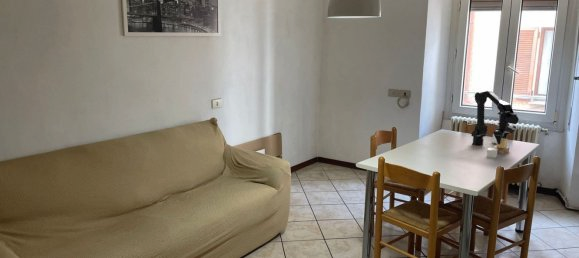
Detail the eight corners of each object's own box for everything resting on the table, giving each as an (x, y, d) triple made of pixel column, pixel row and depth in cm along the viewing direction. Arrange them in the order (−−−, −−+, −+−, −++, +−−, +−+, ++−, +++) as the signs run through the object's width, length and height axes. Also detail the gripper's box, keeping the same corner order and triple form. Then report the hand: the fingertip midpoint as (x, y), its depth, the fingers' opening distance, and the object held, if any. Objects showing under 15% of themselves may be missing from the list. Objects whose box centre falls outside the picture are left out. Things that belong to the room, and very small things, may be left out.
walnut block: (491, 152, 324) (492, 147, 324) (495, 150, 331) (496, 145, 330) (505, 154, 319) (506, 149, 318) (508, 152, 326) (509, 146, 325)
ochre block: (496, 147, 324) (497, 138, 323) (499, 145, 328) (500, 137, 326) (503, 148, 321) (504, 140, 319) (506, 147, 324) (507, 138, 323)
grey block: (486, 156, 313) (487, 149, 312) (487, 154, 318) (488, 147, 317) (496, 157, 310) (496, 150, 309) (496, 155, 315) (497, 148, 314)
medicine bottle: (499, 144, 347) (500, 129, 344) (491, 142, 353) (493, 127, 351) (506, 143, 350) (507, 128, 347) (498, 141, 356) (500, 126, 354)
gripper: (510, 125, 308) (508, 147, 312) (520, 121, 322) (518, 143, 325) (494, 122, 316) (491, 144, 319) (504, 119, 329) (501, 140, 332)
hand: (501, 143), depth 324 cm, fingers open, 9 cm apart
